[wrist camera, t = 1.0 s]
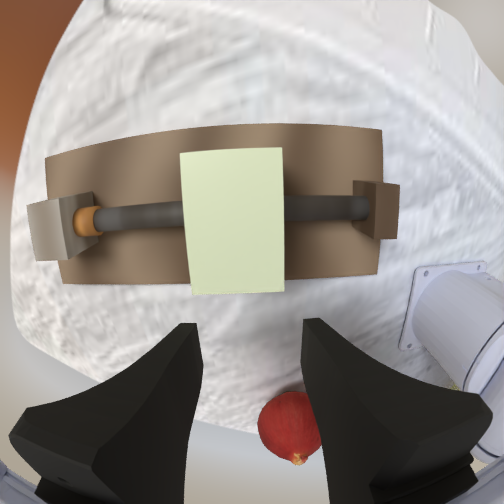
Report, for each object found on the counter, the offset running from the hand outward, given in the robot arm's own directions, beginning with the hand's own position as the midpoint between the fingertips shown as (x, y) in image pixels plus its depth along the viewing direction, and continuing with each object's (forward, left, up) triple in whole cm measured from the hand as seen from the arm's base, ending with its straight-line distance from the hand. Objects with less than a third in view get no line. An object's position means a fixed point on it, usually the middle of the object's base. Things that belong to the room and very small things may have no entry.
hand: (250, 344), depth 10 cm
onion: (-3, +13, -10) cm, 16 cm away
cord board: (+3, -4, -9) cm, 11 cm away
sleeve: (+1, -4, -8) cm, 9 cm away
